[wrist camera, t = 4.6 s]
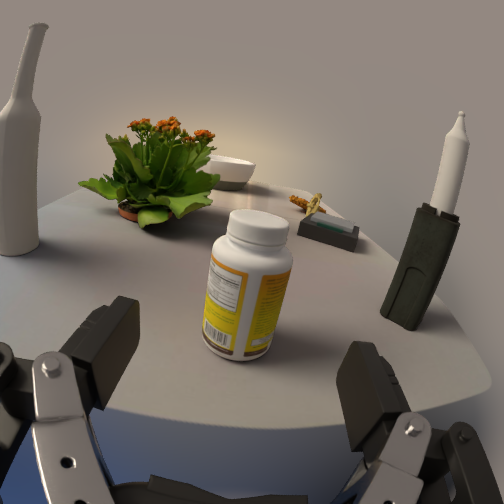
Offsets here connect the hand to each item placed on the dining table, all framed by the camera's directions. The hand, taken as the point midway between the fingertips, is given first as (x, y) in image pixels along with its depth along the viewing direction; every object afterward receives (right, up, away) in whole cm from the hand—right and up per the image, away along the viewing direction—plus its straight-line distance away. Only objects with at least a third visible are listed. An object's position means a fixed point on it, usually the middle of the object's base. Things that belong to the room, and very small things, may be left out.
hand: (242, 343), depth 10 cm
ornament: (+14, +12, +62) cm, 64 cm away
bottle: (-30, +4, +18) cm, 35 cm away
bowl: (-11, +24, +78) cm, 83 cm away
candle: (+18, -5, +21) cm, 28 cm away
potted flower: (-19, +10, +39) cm, 44 cm away
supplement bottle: (-1, -4, +13) cm, 13 cm away
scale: (+16, +6, +47) cm, 50 cm away
